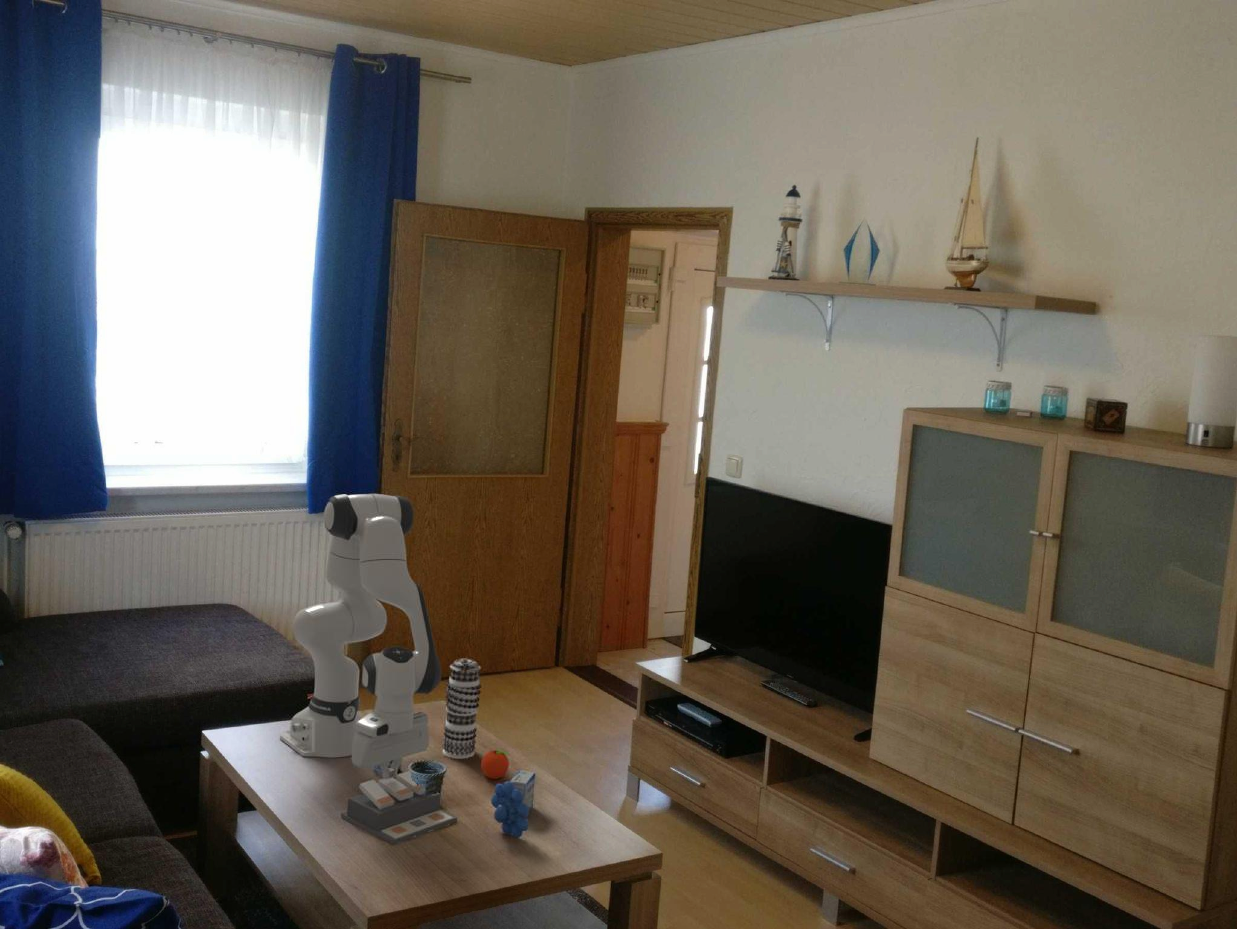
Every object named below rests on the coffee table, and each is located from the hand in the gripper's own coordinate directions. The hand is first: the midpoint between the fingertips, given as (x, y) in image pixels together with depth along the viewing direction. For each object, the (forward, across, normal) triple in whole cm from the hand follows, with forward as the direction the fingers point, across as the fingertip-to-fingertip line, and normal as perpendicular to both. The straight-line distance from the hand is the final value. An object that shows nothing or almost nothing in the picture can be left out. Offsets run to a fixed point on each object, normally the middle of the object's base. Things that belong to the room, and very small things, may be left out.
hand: (389, 777), depth 279 cm
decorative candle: (+9, -39, -18) cm, 44 cm away
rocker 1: (+2, +6, +2) cm, 6 cm away
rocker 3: (+2, -6, +2) cm, 6 cm away
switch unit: (+9, 0, +4) cm, 10 cm away
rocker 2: (+2, 0, +2) cm, 3 cm away
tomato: (+9, -35, 0) cm, 36 cm away
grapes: (+9, -13, +25) cm, 30 cm away
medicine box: (+9, -25, +18) cm, 32 cm away
